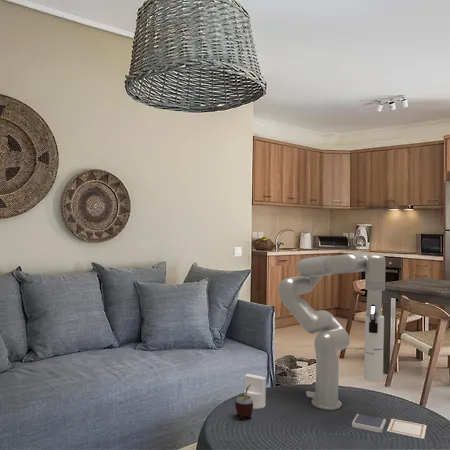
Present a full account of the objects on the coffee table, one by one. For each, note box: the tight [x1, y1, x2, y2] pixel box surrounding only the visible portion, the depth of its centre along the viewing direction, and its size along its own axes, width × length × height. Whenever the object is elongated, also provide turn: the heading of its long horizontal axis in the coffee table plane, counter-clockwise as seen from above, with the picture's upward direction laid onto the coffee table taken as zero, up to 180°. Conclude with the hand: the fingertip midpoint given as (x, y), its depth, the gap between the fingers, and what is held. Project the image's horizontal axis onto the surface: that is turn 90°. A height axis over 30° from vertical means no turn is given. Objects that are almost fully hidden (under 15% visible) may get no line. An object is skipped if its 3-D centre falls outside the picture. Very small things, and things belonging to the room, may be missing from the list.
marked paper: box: [386, 418, 427, 440], centre depth 186 cm, size 13×13×1 cm
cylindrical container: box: [363, 314, 385, 383], centre depth 193 cm, size 7×7×25 cm
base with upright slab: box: [244, 373, 267, 410], centre depth 208 cm, size 9×9×12 cm
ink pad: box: [351, 413, 387, 434], centre depth 189 cm, size 11×10×2 cm
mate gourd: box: [234, 385, 254, 421], centre depth 193 cm, size 8×8×15 cm
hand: (374, 330), depth 193 cm, fingers closed on cylindrical container, 7 cm apart
